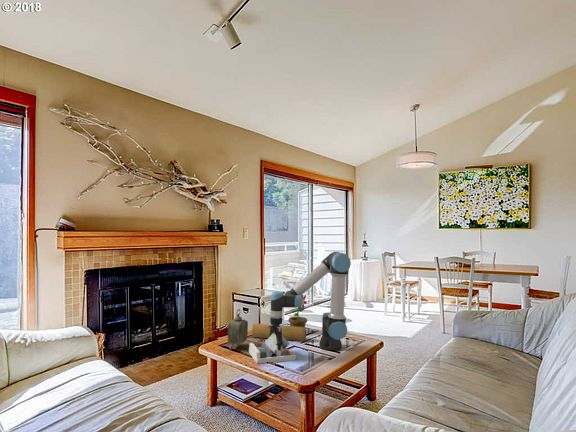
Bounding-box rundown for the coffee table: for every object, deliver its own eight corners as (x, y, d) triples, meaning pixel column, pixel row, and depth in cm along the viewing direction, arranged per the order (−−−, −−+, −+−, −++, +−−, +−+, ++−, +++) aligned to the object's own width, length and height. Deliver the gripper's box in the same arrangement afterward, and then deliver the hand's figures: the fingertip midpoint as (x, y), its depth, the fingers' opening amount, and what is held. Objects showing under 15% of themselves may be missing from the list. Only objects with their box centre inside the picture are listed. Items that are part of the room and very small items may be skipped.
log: (306, 338, 256) (306, 325, 256) (304, 343, 246) (305, 328, 247) (255, 334, 262) (255, 321, 263) (251, 338, 253) (251, 324, 253)
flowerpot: (300, 336, 260) (301, 295, 261) (284, 332, 268) (285, 293, 269) (310, 331, 272) (311, 292, 273) (294, 328, 280) (295, 290, 281)
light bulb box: (278, 357, 217) (290, 343, 220) (273, 352, 213) (285, 338, 216) (268, 347, 225) (280, 334, 228) (263, 342, 221) (276, 329, 224)
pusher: (262, 350, 226) (263, 341, 227) (271, 360, 210) (271, 350, 210) (254, 351, 224) (254, 342, 225) (262, 361, 208) (262, 351, 208)
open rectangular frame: (284, 348, 233) (284, 339, 233) (295, 359, 214) (295, 349, 214) (248, 351, 225) (249, 342, 225) (257, 363, 206) (257, 353, 206)
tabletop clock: (235, 343, 240) (236, 306, 241) (247, 344, 238) (248, 307, 239) (227, 350, 226) (228, 311, 227) (240, 352, 224) (241, 312, 225)
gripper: (265, 312, 231) (264, 346, 230) (276, 322, 208) (275, 359, 208) (276, 312, 234) (275, 345, 233) (288, 321, 211) (287, 358, 210)
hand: (275, 351), depth 220 cm, fingers closed on light bulb box, 12 cm apart
